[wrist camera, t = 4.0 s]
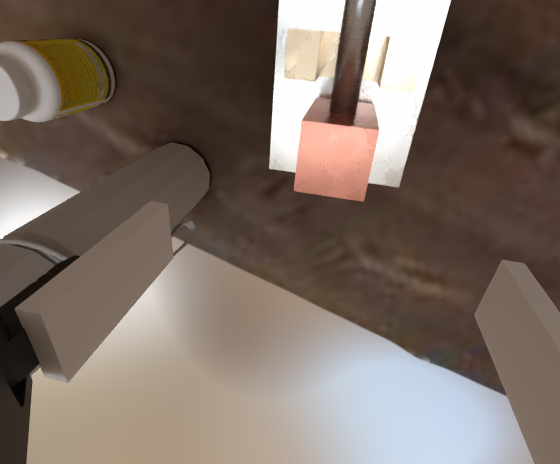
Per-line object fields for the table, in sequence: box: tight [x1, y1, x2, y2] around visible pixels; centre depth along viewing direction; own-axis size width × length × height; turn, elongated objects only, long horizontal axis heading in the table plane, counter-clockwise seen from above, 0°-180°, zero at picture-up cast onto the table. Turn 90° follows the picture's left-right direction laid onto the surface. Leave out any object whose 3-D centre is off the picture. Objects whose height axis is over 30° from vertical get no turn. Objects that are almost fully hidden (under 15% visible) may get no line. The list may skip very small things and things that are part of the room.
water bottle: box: [0, 142, 210, 375], centre depth 28 cm, size 9×8×25 cm
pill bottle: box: [0, 39, 115, 122], centre depth 30 cm, size 6×6×11 cm
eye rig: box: [269, 0, 451, 187], centre depth 23 cm, size 26×13×12 cm, turn 176°
